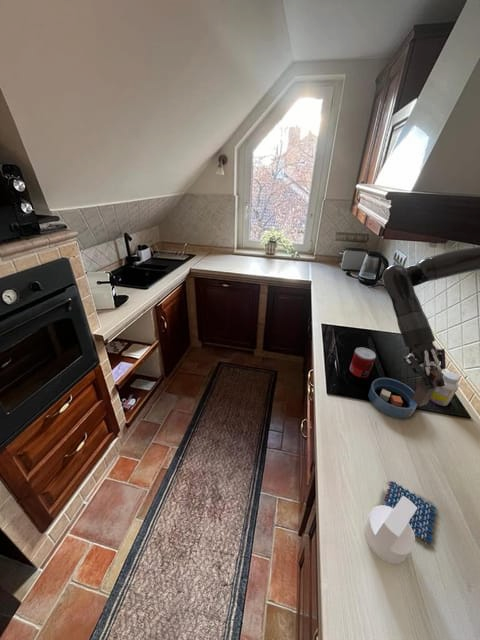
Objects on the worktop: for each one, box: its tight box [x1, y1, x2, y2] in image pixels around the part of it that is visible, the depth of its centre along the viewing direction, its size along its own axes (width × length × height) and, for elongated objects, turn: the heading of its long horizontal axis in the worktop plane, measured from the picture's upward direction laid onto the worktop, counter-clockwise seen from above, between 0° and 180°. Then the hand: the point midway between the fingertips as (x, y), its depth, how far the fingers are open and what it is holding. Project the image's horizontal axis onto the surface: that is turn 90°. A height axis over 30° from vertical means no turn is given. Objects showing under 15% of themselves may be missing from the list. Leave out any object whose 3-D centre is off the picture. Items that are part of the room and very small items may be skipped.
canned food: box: [349, 346, 377, 379], centre depth 106 cm, size 8×8×11 cm
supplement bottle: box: [429, 370, 460, 407], centre depth 93 cm, size 7×7×13 cm
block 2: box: [389, 394, 404, 408], centre depth 93 cm, size 3×3×3 cm
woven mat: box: [382, 480, 437, 545], centre depth 63 cm, size 10×11×2 cm
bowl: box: [367, 377, 418, 419], centre depth 93 cm, size 15×15×6 cm
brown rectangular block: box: [411, 368, 444, 407], centre depth 74 cm, size 3×3×12 cm
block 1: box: [378, 389, 392, 403], centre depth 95 cm, size 3×3×3 cm
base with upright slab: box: [363, 496, 417, 565], centre depth 56 cm, size 9×9×12 cm
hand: (436, 387), depth 71 cm, fingers closed on brown rectangular block, 3 cm apart
